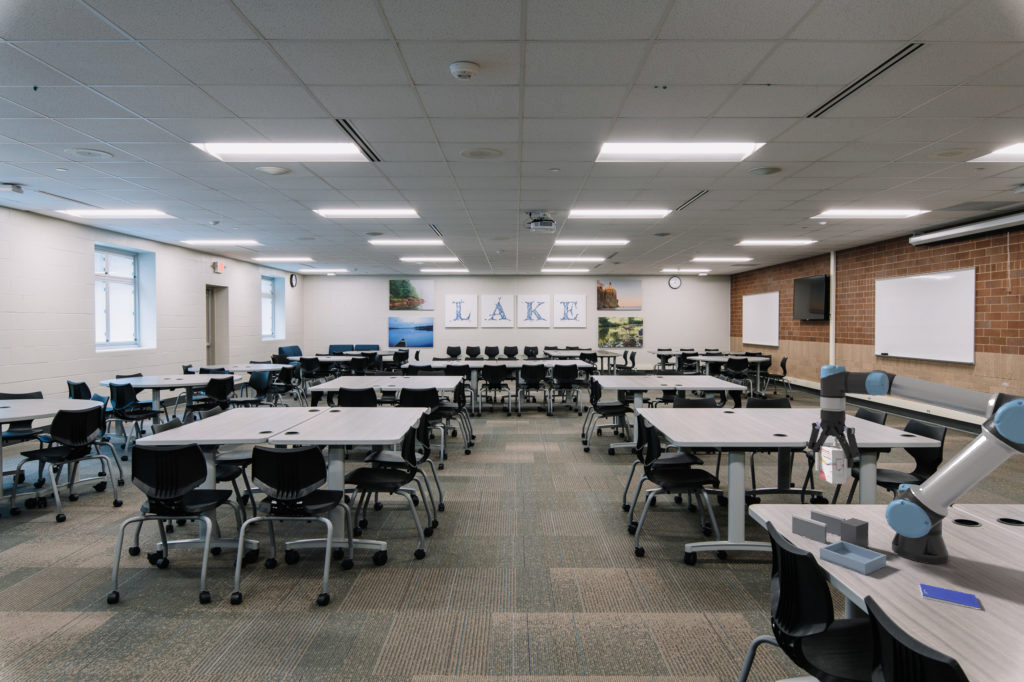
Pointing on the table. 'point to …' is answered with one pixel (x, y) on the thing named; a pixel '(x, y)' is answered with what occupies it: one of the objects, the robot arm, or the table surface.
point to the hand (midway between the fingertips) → (832, 473)
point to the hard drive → (948, 596)
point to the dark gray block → (855, 532)
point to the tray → (853, 557)
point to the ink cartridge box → (832, 463)
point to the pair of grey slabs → (817, 525)
